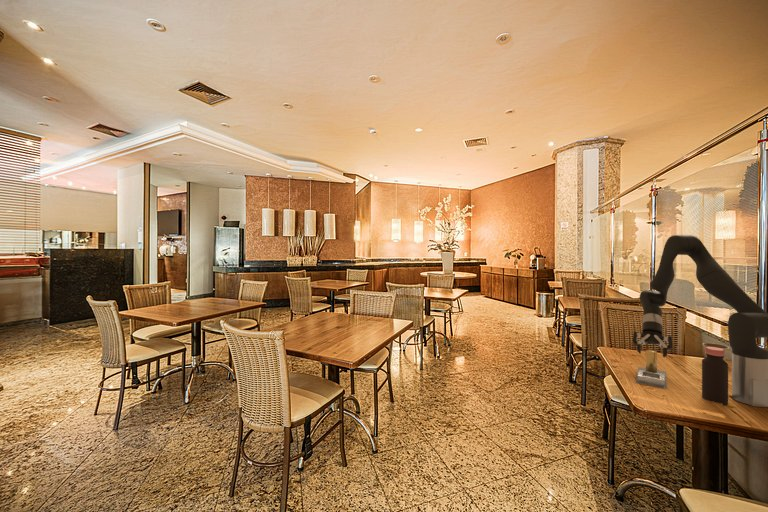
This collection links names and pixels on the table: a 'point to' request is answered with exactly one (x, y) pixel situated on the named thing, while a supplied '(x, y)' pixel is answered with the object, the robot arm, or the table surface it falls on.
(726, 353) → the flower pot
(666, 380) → the grey base plate
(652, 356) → the pin
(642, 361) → the table surface
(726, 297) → the robot arm
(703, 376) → the bottle
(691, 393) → the table surface
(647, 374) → the collar
